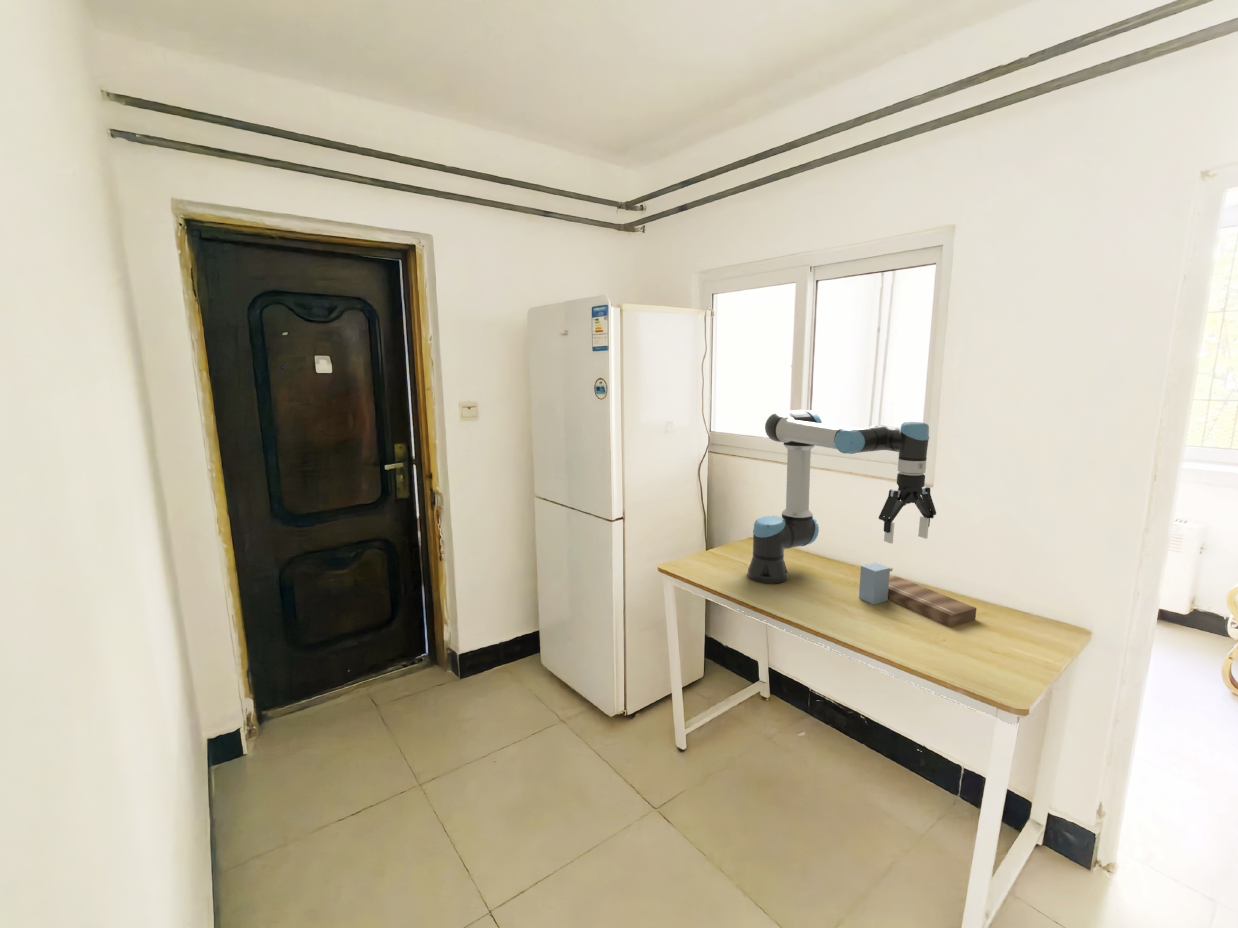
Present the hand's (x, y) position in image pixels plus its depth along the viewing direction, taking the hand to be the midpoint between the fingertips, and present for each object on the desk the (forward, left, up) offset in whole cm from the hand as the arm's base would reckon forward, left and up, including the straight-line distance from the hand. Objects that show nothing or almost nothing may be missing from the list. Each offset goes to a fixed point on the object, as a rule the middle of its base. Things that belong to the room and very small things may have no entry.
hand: (905, 539), depth 166 cm
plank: (-5, +16, -27) cm, 32 cm away
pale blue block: (-15, +8, -27) cm, 32 cm away
